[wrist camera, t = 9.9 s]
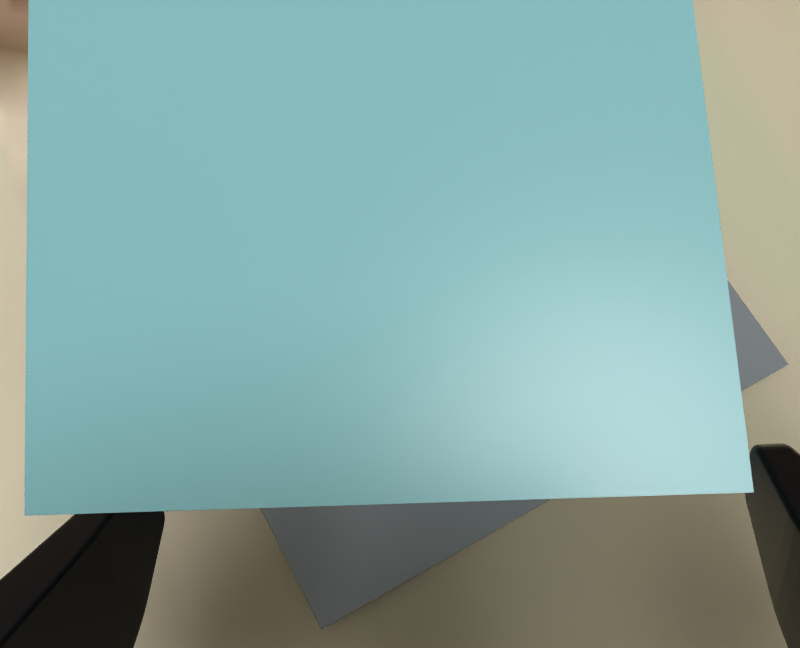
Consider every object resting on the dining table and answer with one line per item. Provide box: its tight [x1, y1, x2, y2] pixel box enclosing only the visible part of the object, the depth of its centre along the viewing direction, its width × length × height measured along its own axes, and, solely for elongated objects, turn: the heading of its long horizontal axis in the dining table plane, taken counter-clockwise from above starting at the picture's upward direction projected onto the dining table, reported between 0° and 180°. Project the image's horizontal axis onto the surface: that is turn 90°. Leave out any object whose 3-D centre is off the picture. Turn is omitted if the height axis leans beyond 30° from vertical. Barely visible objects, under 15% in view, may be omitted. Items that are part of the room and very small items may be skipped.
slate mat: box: [261, 280, 788, 629], centre depth 19 cm, size 14×13×1 cm
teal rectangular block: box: [25, 0, 754, 516], centre depth 12 cm, size 7×7×12 cm
